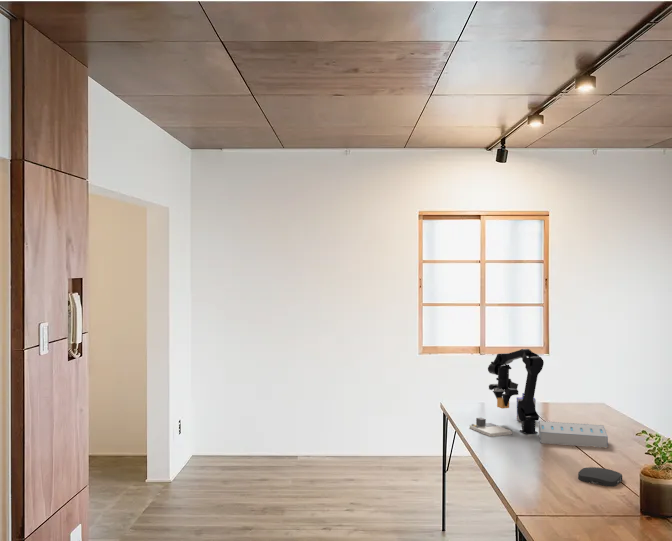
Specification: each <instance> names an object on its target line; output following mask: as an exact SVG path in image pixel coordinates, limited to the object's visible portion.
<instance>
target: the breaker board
mask: <svg viewBox="0 0 672 541" xmlns="http://www.w3.org/2000/svg"><path fill="white" fill-rule="evenodd" d="M469 429H471V430H474V431H475V430H476V431H475V432H478V433H480V432H481V433H480V434H482V435H486V436H488V437H489V438H490V437H499V436H508V435H513V432H512V430H510V429H507V428H504V427H503V426H502V427H501V426H499V425H497V424H494V423H492V422H486V426H478V425H476V423H471V424H470V425H469Z"/></svg>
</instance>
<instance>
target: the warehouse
mask: <svg viewBox="0 0 672 541" xmlns="http://www.w3.org/2000/svg"><path fill="white" fill-rule="evenodd" d="M606 431H607V430H606V429H605V426H604V425H603V424H588V423H587V424H585V423H571V422H570V423H569V422H557V421H556V422H555V421H543V420H542V421H541V420H538V437H539V443H540V444H548V445H550V444H551V445H562V446H563V445H564V446H575V447H576V446H577V447H588V446H595V447H594V448H601V447H608V446H609V445H608V444H609V442H608V440H609V437H608V434H607V432H606ZM608 448H609V447H608Z"/></svg>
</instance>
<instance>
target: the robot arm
mask: <svg viewBox="0 0 672 541" xmlns="http://www.w3.org/2000/svg"><path fill="white" fill-rule="evenodd" d="M518 359H522V362H523V363H524V364H525V370H526V372H527V374H526V379H525V387H524V392H523V393H524V395H523V396H524V397H523V400H521V401H519V402H518V407H517V406H516V409H517V408H518V416H519V420H521V421H520V422H521V429H520V430H519V432H521V433H524V434H525V435H533V434H539V431H536V421H540V420H539V419H540V416H539V414H538V412H537V411H536V405H535V404H534V402H533V399H534V398H535V392H536V389H537V388H536V386H537V380H538V376H539V374H540V373H541V371H543V367H544V360H543V358H542V357H541V356H540V355H539V354H538V353H535V352H533V351H532V350H531V349H530V348H521V349H519V350H516V351H512V352H507V353H506V352H504V353H497V354H496V356H495V358H494V360H493V361H491V362H490V364H489V365H488V367H487V370H488V373H489V374H492V375H495V376H497V377H496V378H495V379H496V381H497V383H489V385H488V390H489V391H492V393H493V394H494V396H495V398H496V399H497V398H499V397H503V400H504V405H505V406H507V405H508V402H509V403H510V399H511V397H512V396H518V395H519V389H518V387H519V383H516V382H513V381H512V379H511V378H510V370H512V367H511V366H510V364H511V363H513V362H514V361H515V360H518ZM527 416H531V417H527Z"/></svg>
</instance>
